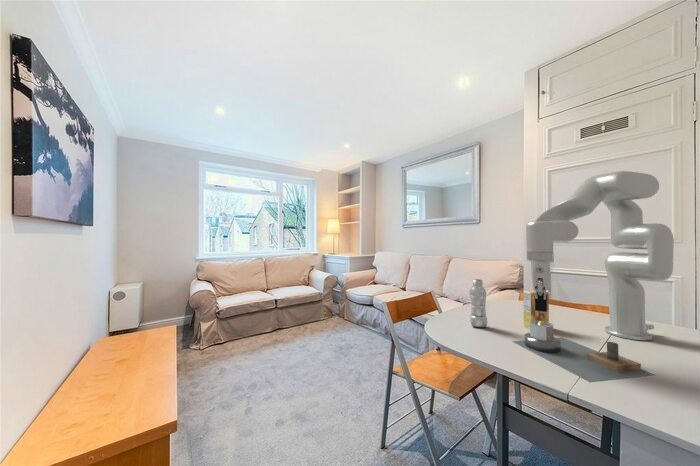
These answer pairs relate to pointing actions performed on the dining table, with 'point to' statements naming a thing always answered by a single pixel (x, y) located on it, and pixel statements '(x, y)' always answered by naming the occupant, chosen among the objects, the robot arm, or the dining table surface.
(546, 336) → the collar
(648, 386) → the dining table surface
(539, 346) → the hub
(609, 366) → the stand
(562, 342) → the mat
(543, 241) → the robot arm
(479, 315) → the plastic bottle
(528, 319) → the candy box
